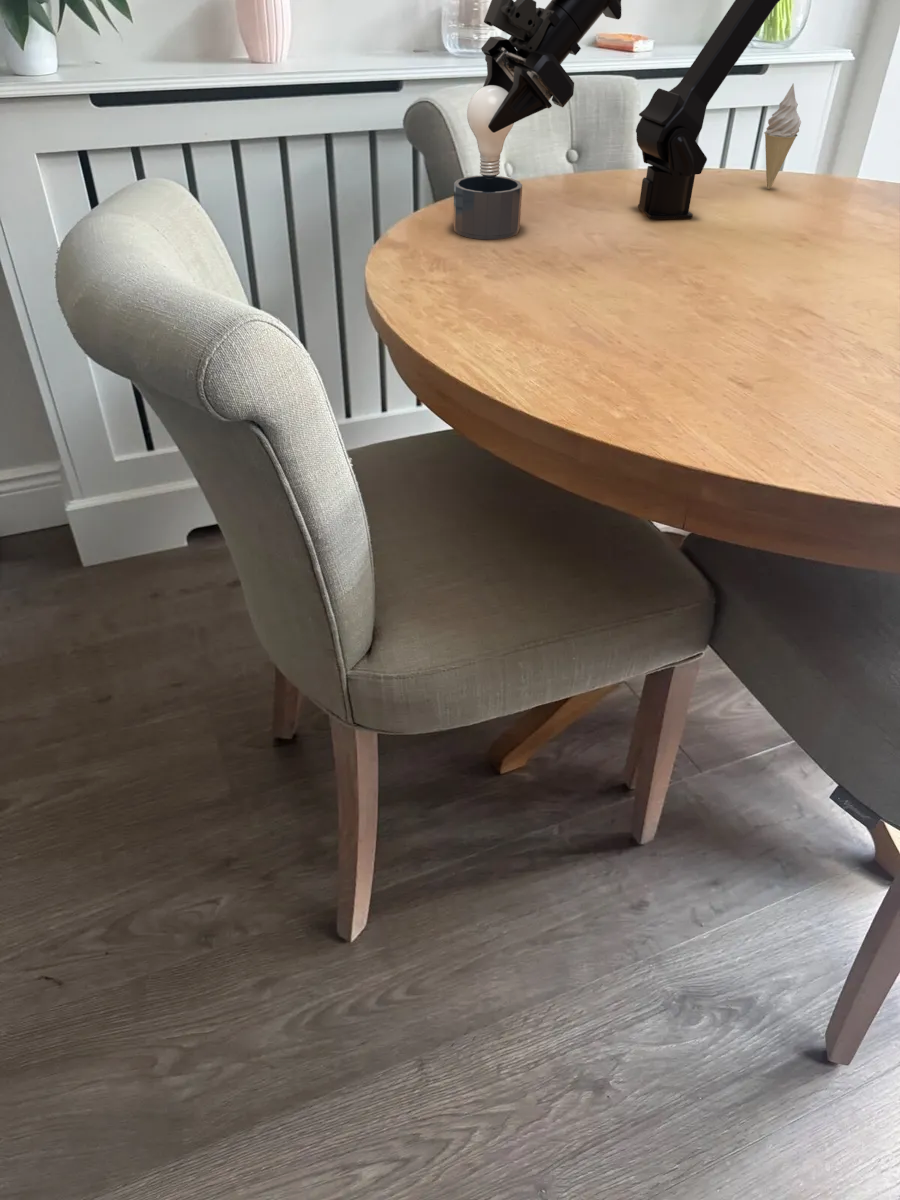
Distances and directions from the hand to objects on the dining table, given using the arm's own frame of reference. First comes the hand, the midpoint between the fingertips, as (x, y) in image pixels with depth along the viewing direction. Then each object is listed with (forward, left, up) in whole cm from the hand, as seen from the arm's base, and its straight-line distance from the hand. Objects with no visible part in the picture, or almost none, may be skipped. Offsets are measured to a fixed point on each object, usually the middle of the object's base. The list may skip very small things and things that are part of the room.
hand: (481, 124), depth 114 cm
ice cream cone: (-51, -17, -13) cm, 56 cm away
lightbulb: (-1, 0, -7) cm, 7 cm away
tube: (-1, 0, -13) cm, 13 cm away
